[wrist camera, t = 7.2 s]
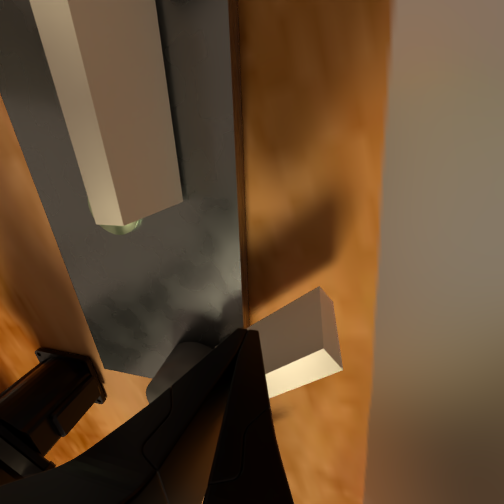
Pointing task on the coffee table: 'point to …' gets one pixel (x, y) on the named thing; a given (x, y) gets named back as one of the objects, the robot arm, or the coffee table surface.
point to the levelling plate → (158, 224)
